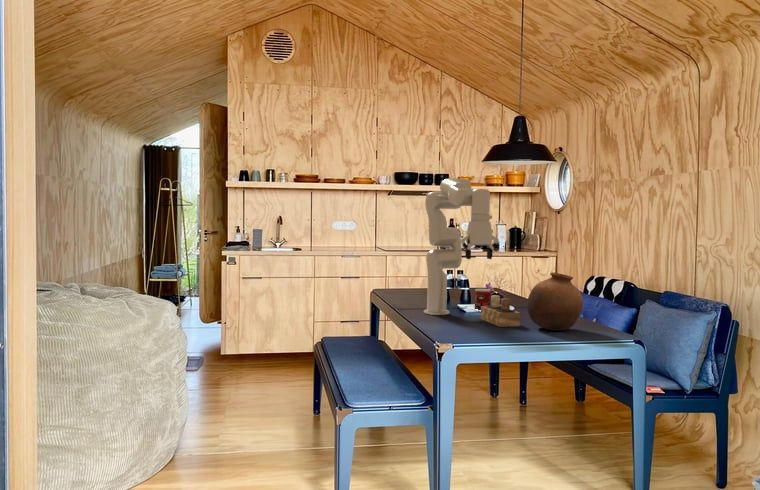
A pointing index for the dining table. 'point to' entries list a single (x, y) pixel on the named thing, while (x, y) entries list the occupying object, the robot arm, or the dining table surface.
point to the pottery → (555, 303)
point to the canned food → (482, 298)
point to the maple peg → (495, 301)
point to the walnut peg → (505, 304)
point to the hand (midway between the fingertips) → (478, 258)
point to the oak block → (500, 316)
